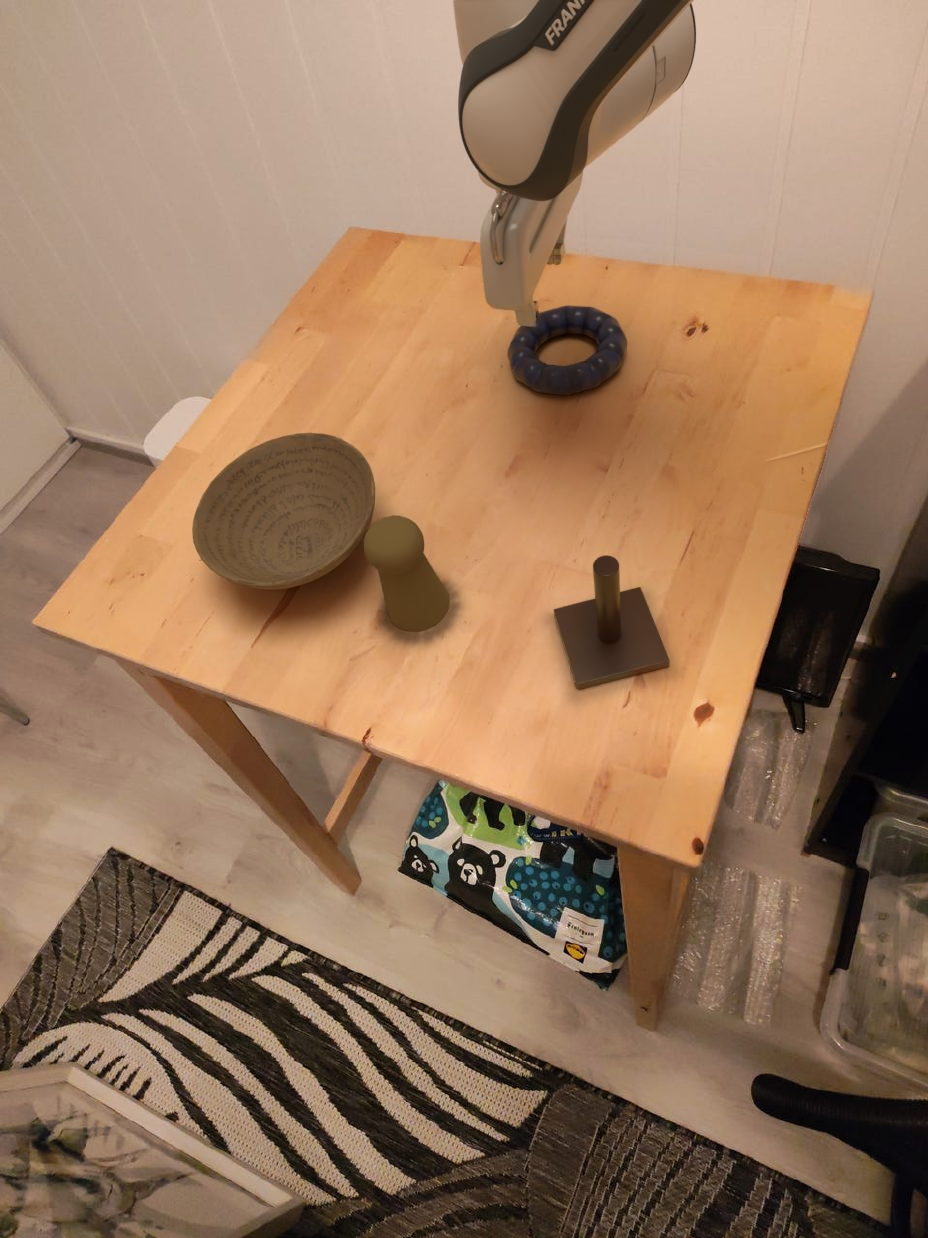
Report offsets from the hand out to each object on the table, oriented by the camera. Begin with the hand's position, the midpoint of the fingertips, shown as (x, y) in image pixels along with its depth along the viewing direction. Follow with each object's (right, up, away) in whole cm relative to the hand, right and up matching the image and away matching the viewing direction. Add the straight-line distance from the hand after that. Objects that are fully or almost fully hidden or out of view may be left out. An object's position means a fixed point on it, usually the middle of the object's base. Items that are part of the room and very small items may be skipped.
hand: (542, 289), depth 78 cm
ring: (+4, -2, +12) cm, 13 cm away
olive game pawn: (-12, -31, -2) cm, 33 cm away
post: (+5, -34, -8) cm, 35 cm away
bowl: (-23, -25, +4) cm, 35 cm away
